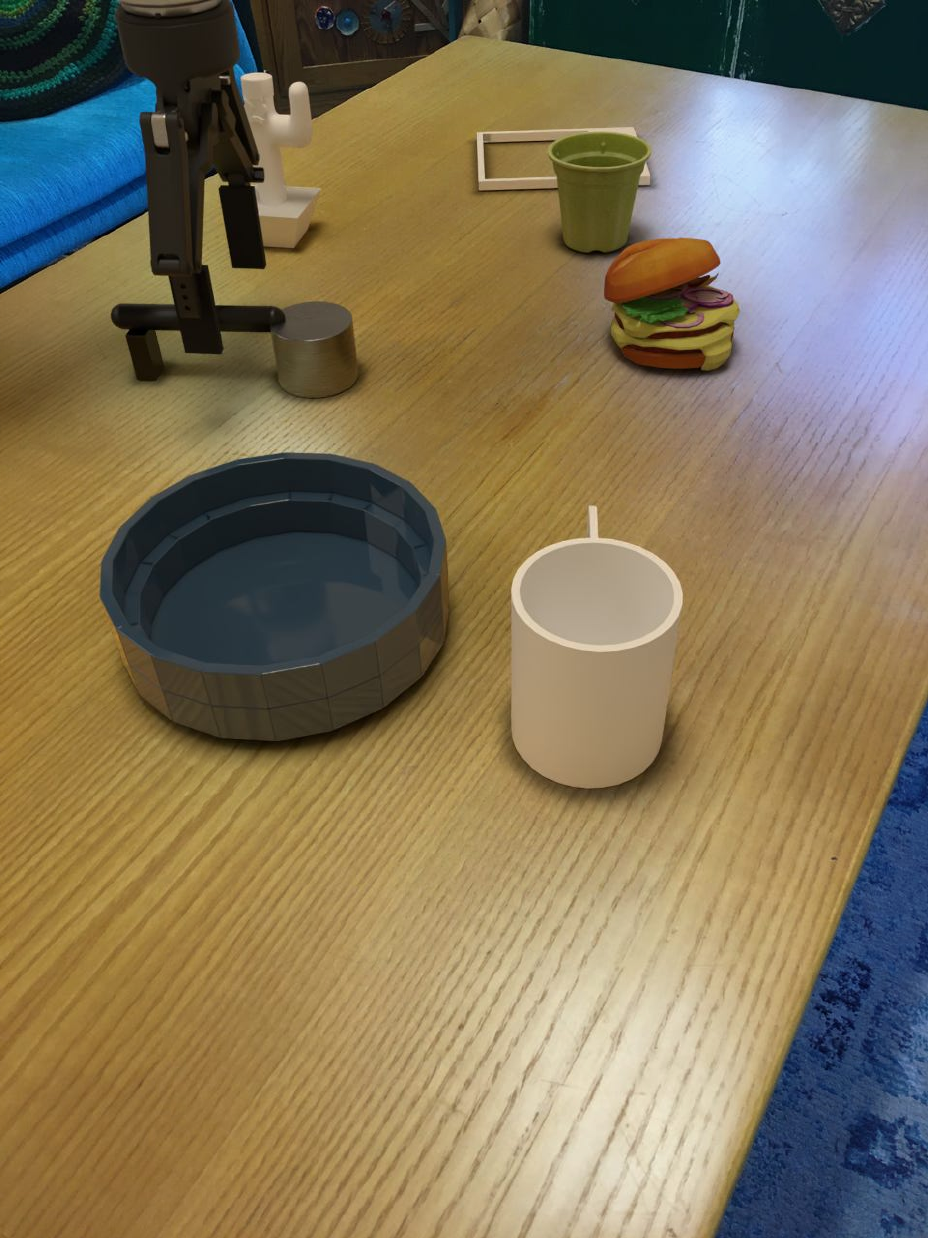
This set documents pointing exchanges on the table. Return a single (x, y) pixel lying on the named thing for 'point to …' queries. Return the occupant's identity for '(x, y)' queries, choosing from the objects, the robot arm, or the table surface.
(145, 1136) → the table surface
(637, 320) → the cheeseburger
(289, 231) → the figurine
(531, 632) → the cup
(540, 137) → the photo frame
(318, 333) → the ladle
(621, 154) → the plant pot
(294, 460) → the bowl
